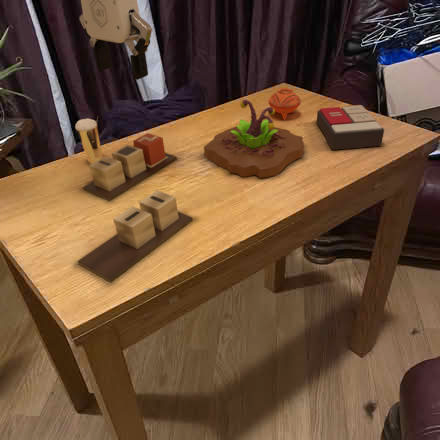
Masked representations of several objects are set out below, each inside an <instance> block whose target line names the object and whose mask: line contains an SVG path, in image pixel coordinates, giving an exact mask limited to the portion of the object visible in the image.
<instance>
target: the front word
mask: <svg viewBox="0 0 440 440" xmlns="http://www.w3.org/2000/svg"><path fill="white" fill-rule="evenodd" d="M138 204H139V207H137V206H132V205H131V206H130V207H129V208H127V209H126V210H125V211H123V212H121V213H119V214H118V215H117V216H115V217H114V218H112V219H113V222H114V226H115V230H116V234H114V235H113V236H112V237H110V238H109V239H108V240H106V241H105V242H103V243H102V244H100V245H99V246H97V247H96V248H94V249H93V250H91V251H90V252H89V253H87V254H85V256H83V257H81V258H80V259H78V260H77V264H78V265H79V266H81V267H82V268H85V269H86V270H88V271H90V272H91V273H94V274H95V275H97V276H99V277H101V278H102V279H104V280H106V281H107V282H109V283H112V282H114V281H115V280H116V279H117V278H119V277H120V276H121V275H122V274H124V273H125V272H127V271H128V270H130V268H132V267H134V265H136V264H137V263H138V262H139V261H142V259H144V258H145V257H146V256H147V255H149V254H150V253H152V252H153V251H154V250H155V249H157V248H158V247H159V246H161V245H162V244H164V242H166V241H167V240H169V239H170V238H171V237H172V236H174V235H175V234H177V233H178V232H179V231H180V230H182V229H183V228H185V227H186V226H187V225H189V223H192V221H193V219H194V218H193V217H192V216H190V215H188V214H185V213H182V212H180V211H178V205H177V198H176V196H173V195H170V194H169V193H166V192H163V191H160V190H158V189H156V190H155V191H152V192H151V193H150V194H148V195H147V196H146V197H144V198H142V199H141V200H139V201H138Z"/></svg>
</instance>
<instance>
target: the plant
mask: <svg viewBox="0 0 440 440" xmlns="http://www.w3.org/2000/svg"><path fill="white" fill-rule="evenodd" d="M239 105H240V107H241V108H242V109H245V108H247V107H249V110H250V118H251V119H250V121H249V122H248V121H247V120H245V119H240V120H239V124H236V126H233V127H231V128H228V129H226V130H224V131H220V132H219V133H216V134H214V137H213V139H212V140H209V142H208V143H206V144H205V145H204V146H203V156H204V157H205V158H207V160H209V161H211V162H214V163H215V164H216V165H217V166H218V167H220V168H223V169H226V170H228V172H229V174H236V175H239V176H240V177H242V178H247V177H251V176H256V177H258V178H260V179H265V178H272V177H274V176H277V175H279V174H281V172H282V171H283V170H284V169H285V167H287V166H288V165H290V164H291V163H293V162H294V161H296V160H298V159H301V158H302V157H303V156H302V155H303V153H304V144H305V142H304V141H303V138H304V137H303V136H301V135H297V134H294V133H292V132H291V131H290V130H288V129H286V128H280V127H276V126H275V123H274V121H273V120H272V119H271V117H270V116H274V115H275V113H276V111H275V110H274V109H273V108H272V107H270V106H268V107H266V108H265V109H263V111H262V112H261V113H260V115H259V117H258V118H257V113H256V109H255V107H254V105H253V103H252V102H251V101H250V100H247V99H243V100H241V102H240V104H239ZM267 112H268V114H269V115H270V116H268V115H265V114H266V113H267Z"/></svg>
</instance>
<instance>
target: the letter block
mask: <svg viewBox="0 0 440 440" xmlns="http://www.w3.org/2000/svg"><path fill="white" fill-rule="evenodd" d="M132 142H133V146H134V147H137V148H139V149H142V150H143V155H144V160H145V164H148V165H151V166H152V165H154V164H155V163H157V162H159V161H160V160H162V159H164V158H165V157H166V156H165V153H166V149H165V144H164V137H162V136H158V135H156V134H152V133H150V132H146V133H145V134H143V135H142V136H140V137H137V138H136V139H134V140H133V141H132Z"/></svg>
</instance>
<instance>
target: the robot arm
mask: <svg viewBox="0 0 440 440" xmlns="http://www.w3.org/2000/svg"><path fill="white" fill-rule="evenodd" d="M80 4H81V10H82V14H81V15H79V18H78V19H79V22H80V24H81V26H82V28H83V29H84V34H85V35H86V37H87V38H88V40H89V45H90V46H91V47H92V48H93V53H94V58H95V62H96V63H95V64H96V66H97V70H98V71H100V72H102V71H106V70H109V69H111V68H112V67H113V62H112V61H113V60H112V56H111V51H110V46H109V43H106V42H110V43H117V44H122V43H125V44H126V46H127V47H128V49H129V51H130V52H131V54H130V56H129V59H130V64H131V70H132V77H133V79H134V80H136V81H138V80H140V79H143V78H145V77H148V76H149V69H148V61H147V54H146V53H147V52H148V50H149V49H148V48H149V46H150V44H151V37H152V32H153V27H152V26H151V24H149V23H148V22H147V21H146V20H145V19H144V18H142V16H141V15H140V10H139V9H140V8H139V4H138V0H80ZM134 41H135V42H136V44H135V42H134Z"/></svg>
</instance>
